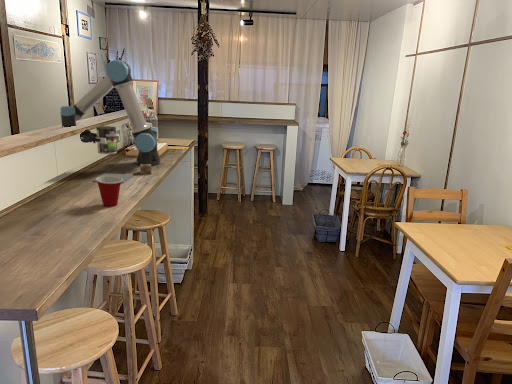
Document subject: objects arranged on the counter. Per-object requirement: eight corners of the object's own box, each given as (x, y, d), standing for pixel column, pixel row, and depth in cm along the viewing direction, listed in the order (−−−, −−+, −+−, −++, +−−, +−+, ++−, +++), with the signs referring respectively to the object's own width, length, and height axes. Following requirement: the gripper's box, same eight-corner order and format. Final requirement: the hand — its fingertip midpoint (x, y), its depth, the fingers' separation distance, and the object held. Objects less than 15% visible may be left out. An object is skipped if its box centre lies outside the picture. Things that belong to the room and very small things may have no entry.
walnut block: (151, 172, 231) (150, 163, 230) (151, 174, 226) (151, 166, 224) (140, 172, 230) (140, 164, 228) (140, 174, 224) (140, 166, 223)
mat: (132, 176, 220) (132, 174, 220) (123, 183, 205) (122, 181, 204) (104, 174, 220) (104, 173, 220) (92, 181, 205) (92, 180, 205)
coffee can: (121, 152, 220) (119, 127, 217) (105, 155, 212) (103, 129, 208) (109, 150, 226) (108, 125, 222) (93, 152, 218) (92, 127, 214)
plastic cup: (118, 209, 166) (117, 182, 162) (93, 208, 166) (91, 180, 162) (127, 201, 176) (126, 175, 173) (103, 200, 176) (101, 174, 173)
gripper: (97, 139, 234) (127, 143, 226) (66, 144, 214) (97, 149, 206) (96, 127, 232) (126, 130, 224) (65, 131, 212) (96, 135, 204)
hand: (112, 139), depth 215 cm, fingers closed on coffee can, 10 cm apart
